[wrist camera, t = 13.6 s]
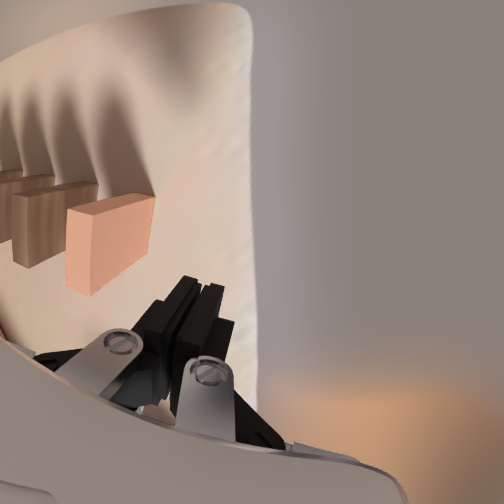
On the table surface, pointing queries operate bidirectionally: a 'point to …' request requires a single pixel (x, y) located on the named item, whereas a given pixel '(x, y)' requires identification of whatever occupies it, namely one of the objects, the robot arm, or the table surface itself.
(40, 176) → the domino
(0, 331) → the cracker box
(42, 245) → the domino
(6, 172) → the domino
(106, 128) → the table surface
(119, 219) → the domino
